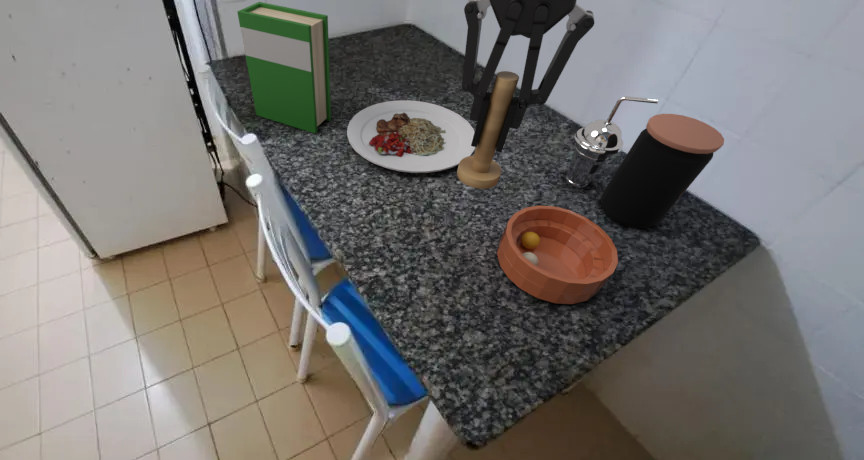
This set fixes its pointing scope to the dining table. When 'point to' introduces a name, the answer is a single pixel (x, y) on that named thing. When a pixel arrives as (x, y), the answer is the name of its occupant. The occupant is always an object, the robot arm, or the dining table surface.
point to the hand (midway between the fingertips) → (487, 143)
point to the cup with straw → (596, 146)
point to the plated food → (411, 136)
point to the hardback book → (287, 64)
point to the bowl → (557, 254)
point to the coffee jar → (659, 169)
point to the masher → (489, 136)
